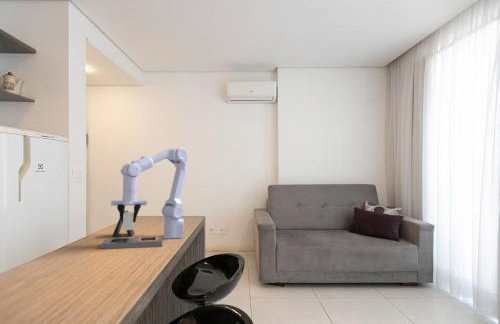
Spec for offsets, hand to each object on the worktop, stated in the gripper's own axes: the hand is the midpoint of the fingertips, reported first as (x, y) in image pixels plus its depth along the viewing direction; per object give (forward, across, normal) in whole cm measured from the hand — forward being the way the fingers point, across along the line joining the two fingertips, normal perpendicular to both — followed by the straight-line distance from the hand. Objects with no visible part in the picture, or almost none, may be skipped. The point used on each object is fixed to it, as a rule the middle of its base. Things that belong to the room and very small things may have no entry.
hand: (128, 222), depth 124 cm
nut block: (+3, 0, 0) cm, 3 cm away
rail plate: (+10, +2, 0) cm, 10 cm away
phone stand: (+10, -5, +20) cm, 23 cm away
